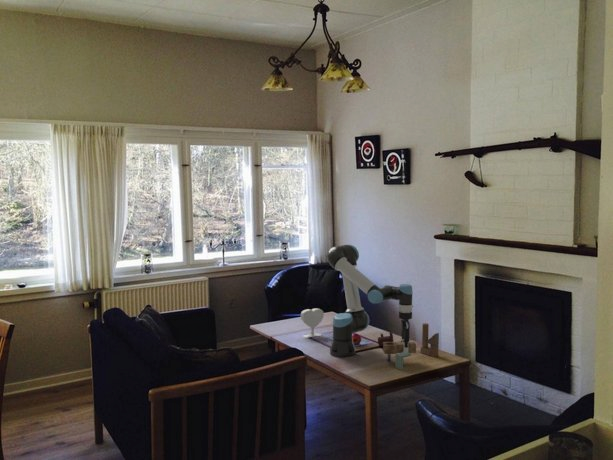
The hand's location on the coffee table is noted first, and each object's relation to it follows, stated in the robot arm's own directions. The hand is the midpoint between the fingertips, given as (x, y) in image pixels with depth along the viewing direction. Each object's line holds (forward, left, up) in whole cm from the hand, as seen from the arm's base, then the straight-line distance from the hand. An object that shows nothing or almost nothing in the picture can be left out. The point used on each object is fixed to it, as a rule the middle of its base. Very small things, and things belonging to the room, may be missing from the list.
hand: (405, 351), depth 311 cm
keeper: (-2, -10, -6) cm, 12 cm away
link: (-3, 0, 0) cm, 3 cm away
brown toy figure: (-3, +27, -6) cm, 28 cm away
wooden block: (+17, +12, -6) cm, 22 cm away
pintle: (-9, 0, -6) cm, 11 cm away
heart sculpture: (-53, +51, -6) cm, 74 cm away
